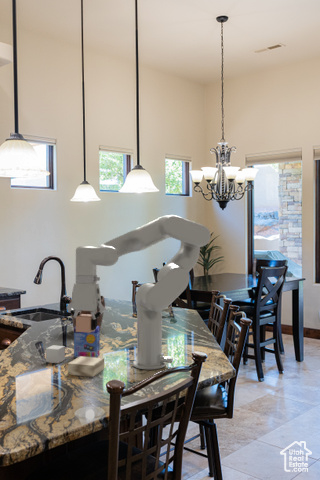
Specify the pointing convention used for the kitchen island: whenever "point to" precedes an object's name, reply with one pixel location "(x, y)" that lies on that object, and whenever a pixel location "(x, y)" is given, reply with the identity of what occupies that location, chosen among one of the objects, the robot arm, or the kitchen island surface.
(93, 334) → the ink cartridge box
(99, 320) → the brown tapered pot
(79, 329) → the terracotta cube
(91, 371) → the maple base block
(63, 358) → the pale grey cube
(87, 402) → the kitchen island surface
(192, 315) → the kitchen island surface
